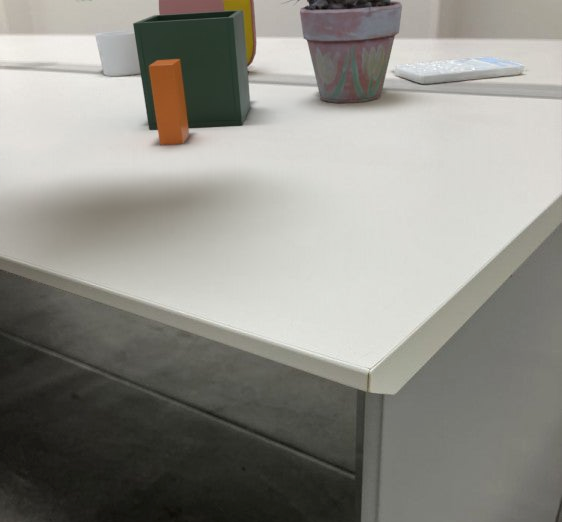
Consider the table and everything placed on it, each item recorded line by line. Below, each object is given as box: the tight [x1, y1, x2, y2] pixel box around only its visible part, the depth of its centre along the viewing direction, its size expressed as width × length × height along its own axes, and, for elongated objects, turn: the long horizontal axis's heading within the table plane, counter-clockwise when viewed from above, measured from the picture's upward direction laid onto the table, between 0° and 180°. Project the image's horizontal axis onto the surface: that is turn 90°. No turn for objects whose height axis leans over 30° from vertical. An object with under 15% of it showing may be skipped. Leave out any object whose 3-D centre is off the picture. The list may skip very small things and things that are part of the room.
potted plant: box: [281, 0, 403, 104], centre depth 105 cm, size 18×20×25 cm
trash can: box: [132, 10, 251, 131], centre depth 100 cm, size 14×14×14 cm
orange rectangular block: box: [149, 59, 190, 146], centre depth 87 cm, size 3×5×10 cm, turn 177°
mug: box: [94, 29, 141, 77], centre depth 151 cm, size 13×10×8 cm
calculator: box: [394, 56, 525, 85], centre depth 124 cm, size 13×20×2 cm, turn 104°
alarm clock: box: [158, 0, 257, 68], centre depth 139 cm, size 18×11×19 cm, turn 49°
